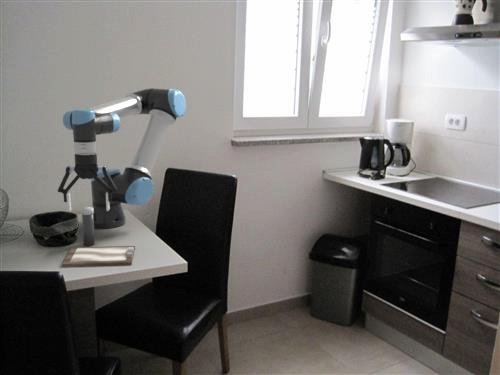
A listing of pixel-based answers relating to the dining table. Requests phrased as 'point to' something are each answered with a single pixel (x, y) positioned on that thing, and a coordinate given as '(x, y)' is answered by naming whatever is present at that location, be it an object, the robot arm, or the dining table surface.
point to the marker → (88, 226)
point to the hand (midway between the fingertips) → (88, 210)
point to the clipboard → (100, 256)
